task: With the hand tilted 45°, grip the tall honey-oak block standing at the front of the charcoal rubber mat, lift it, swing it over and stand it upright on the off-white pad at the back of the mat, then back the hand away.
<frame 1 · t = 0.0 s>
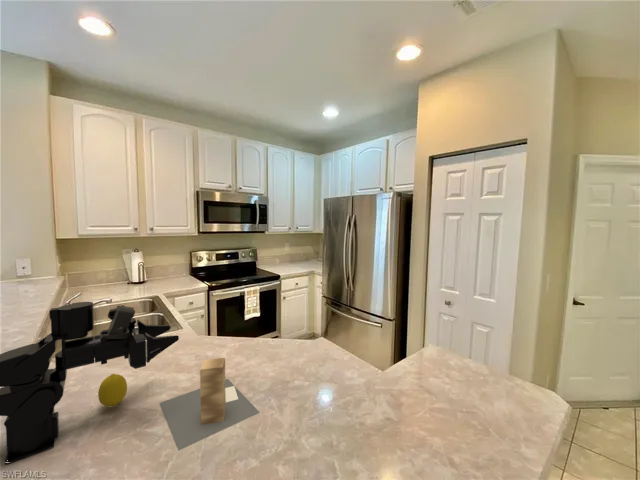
hand: (174, 332, 70), 17 cm above the worktop, tool horizontal, fingers open, 9 cm apart
lemon: (113, 407, 66), on the worktop
oak block: (213, 416, 62), point 1 cm above the worktop, touching mat
mat: (208, 410, 65), on the worktop
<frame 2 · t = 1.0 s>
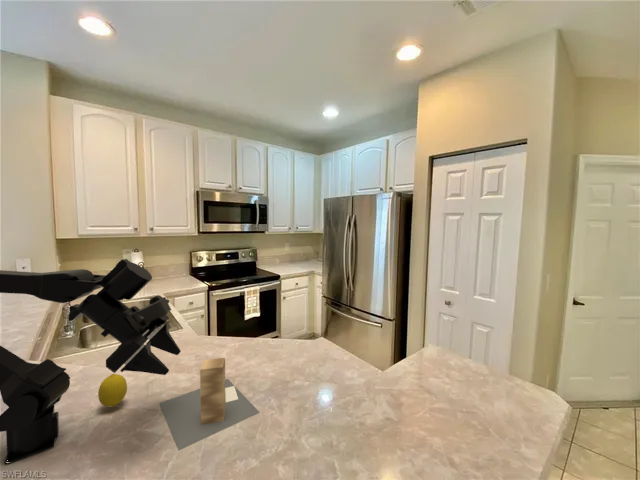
hand: (173, 362, 60), 14 cm above the worktop, tool tilted 45°, fingers open, 9 cm apart
nothing on the worktop moved.
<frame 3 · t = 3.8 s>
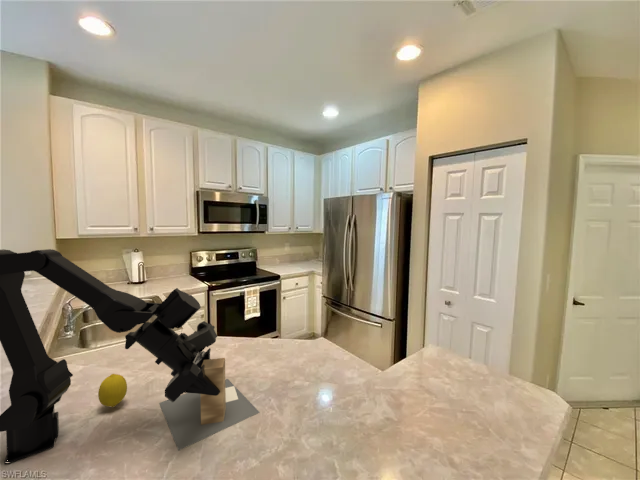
hand: (220, 387, 62), 7 cm above the worktop, tool tilted 45°, fingers closed on oak block, 5 cm apart
oak block: (213, 416, 62), point 1 cm above the worktop, touching gripper, mat
everything else where it was.
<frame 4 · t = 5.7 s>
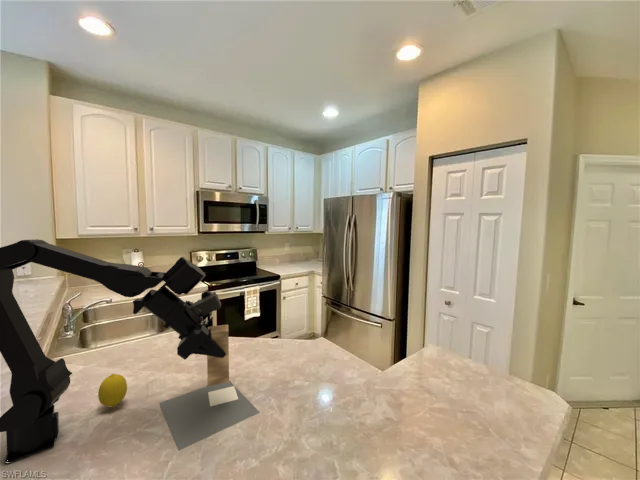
hand: (224, 351, 65), 14 cm above the worktop, tool tilted 45°, fingers closed on oak block, 5 cm apart
oak block: (218, 379, 65), point 7 cm above the worktop, touching gripper
everything else where it was.
when the fingers open (8 cm above the worktop, at t = 7.6 s): oak block drops 1 cm, resting on mat.
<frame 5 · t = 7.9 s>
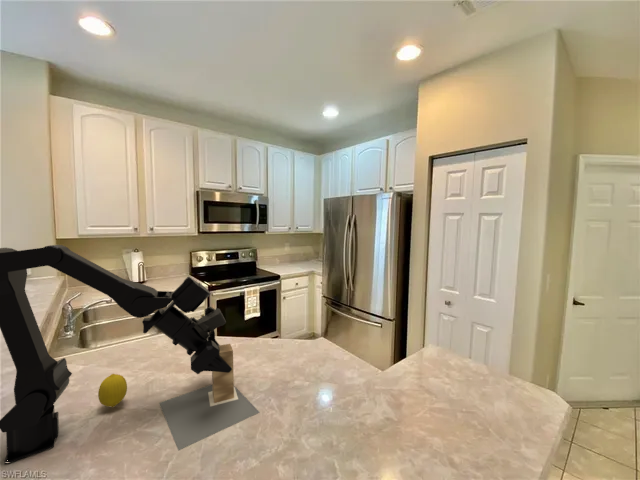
hand: (228, 363, 70), 9 cm above the worktop, tool tilted 45°, fingers open, 8 cm apart
oak block: (223, 395, 70), point 1 cm above the worktop, touching mat
everything else where it was.
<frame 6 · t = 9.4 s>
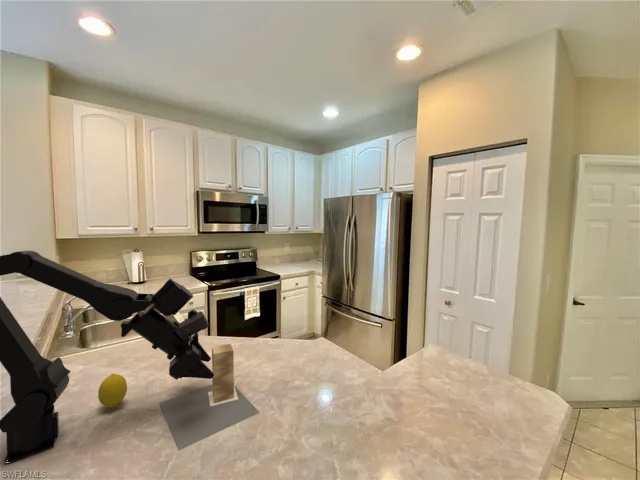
hand: (211, 368, 68), 8 cm above the worktop, tool tilted 45°, fingers open, 9 cm apart
nothing on the worktop moved.
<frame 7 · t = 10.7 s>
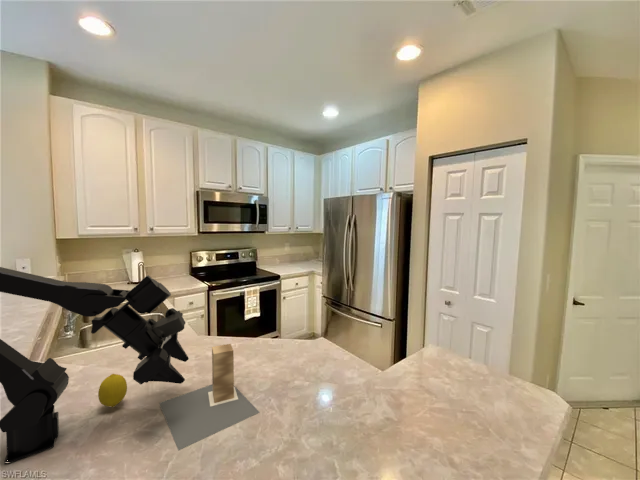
hand: (185, 370, 66), 9 cm above the worktop, tool tilted 40°, fingers open, 9 cm apart
nothing on the worktop moved.
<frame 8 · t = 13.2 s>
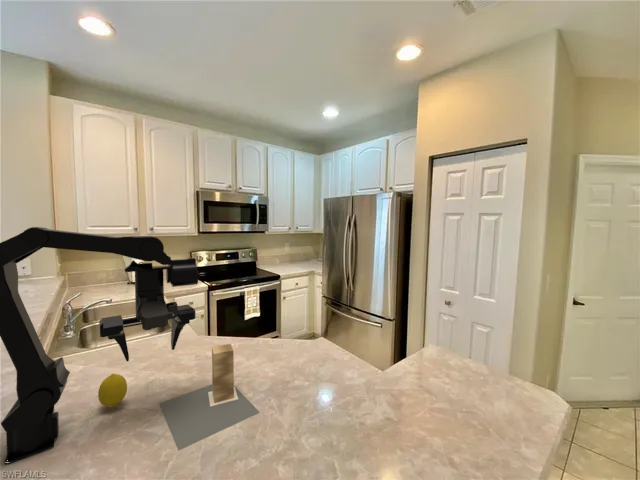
hand: (151, 354, 65), 13 cm above the worktop, tool pointing down, fingers open, 9 cm apart
nothing on the worktop moved.
at the end: oak block 0.0 cm from the target spot, point 0.6 cm above the worktop; oak block tilted 0°; the gripper is holding nothing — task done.
